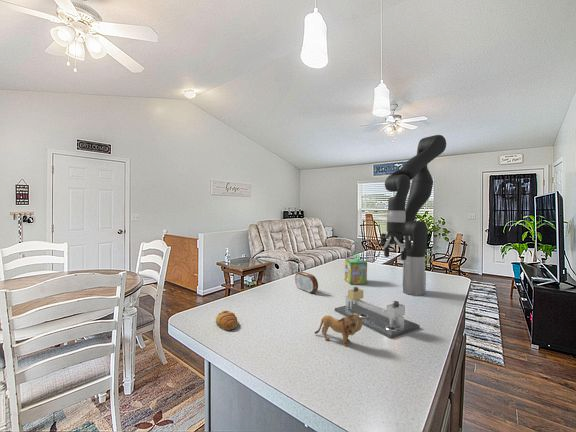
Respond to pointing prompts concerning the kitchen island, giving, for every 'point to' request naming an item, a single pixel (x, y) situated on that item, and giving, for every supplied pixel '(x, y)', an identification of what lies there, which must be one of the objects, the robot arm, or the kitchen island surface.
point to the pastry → (226, 320)
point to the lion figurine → (341, 326)
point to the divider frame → (385, 311)
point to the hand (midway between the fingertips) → (394, 258)
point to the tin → (306, 282)
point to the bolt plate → (377, 321)
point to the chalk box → (356, 271)
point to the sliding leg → (354, 295)
